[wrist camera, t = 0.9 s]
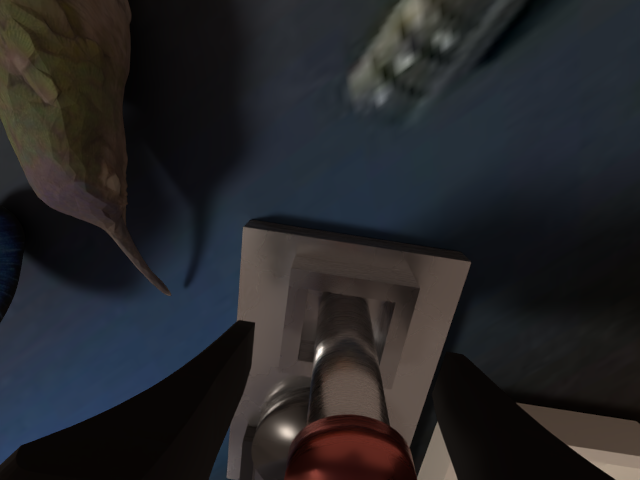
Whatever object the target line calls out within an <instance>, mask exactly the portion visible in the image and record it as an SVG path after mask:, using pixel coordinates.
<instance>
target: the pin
mask: <svg viewBox="0 0 640 480" xmlns="http://www.w3.org/2000/svg"><path fill="white" fill-rule="evenodd" d="M284 480H417V476H416V472H415V467H414V463H413V459H412V454H411V451H410V448H409V446H408V444H407V442H406V441H405V439H404V438H403V437H402V436H401V435H400V434H399V433H398V432H397V431H396V430H395V429H393V428H392V427H391V426H390V422H389V417H388V411H387V406H386V400H385V395H384V389H383V384H382V378H381V373H380V367H379V362H378V356H377V351H376V345H375V339H374V334H373V328H372V323H371V317H370V312H369V307H368V305H367V303H366V301H365V300H364V299H363V298H362V297H356V296H349V295H343V294H336V293H331V294H330V295H328V296H327V297H325V298H324V299H323V301H322V302H321V304H320V306H319V310H318V319H317V329H316V339H315V348H314V358H313V368H312V377H311V387H310V397H309V407H308V416H307V426H306V427H305V428H303V429H302V430H301V431H300V432H299V433H298V434H297V435H296V436H295V438H294V439H293V441H292V443H291V445H290V447H289V451H288V458H287V464H286V471H285V477H284Z"/></svg>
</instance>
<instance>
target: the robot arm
mask: <svg viewBox="0 0 640 480" xmlns="http://www.w3.org/2000/svg"><path fill="white" fill-rule="evenodd" d="M254 332H255V322H250V321H243V320H238V321H237V322H236V323H235V324H233V325H232V326H231V327H230V328H229V329H228V330H227V331H226V332H225V333H224V334H222V335H221V336H220V337H219V338H218V339H217V340H216V341H214V342H213V343H212V344H211V345H210V346H208V347H207V348H206V349H205V350H204V351H202V352H201V353H200V354H199V355H197V356H196V357H195V358H193V359H192V360H191V361H189V362H188V363H187V364H185V365H184V366H183V367H181V368H180V369H178V370H177V371H176V372H174V373H173V374H171V375H170V376H168V377H167V378H165V379H164V380H162V381H160V382H159V383H157V384H156V385H154V386H152V387H151V388H149V389H147V390H145V391H143V392H142V393H140V394H138V395H136V396H134V397H132V398H131V399H129V400H127V401H125V402H123V403H121V404H119V405H117V406H115V407H113V408H111V409H109V410H107V411H105V412H103V413H101V414H98V415H96V416H94V417H92V418H89V419H87V420H85V421H83V422H80V423H78V424H76V425H73V426H71V427H68V428H66V429H63V430H61V431H58V432H55V433H53V434H50V435H48V436H45V437H43V438H40V439H37V440H35V441H32V442H29V443H27V444H24V445H21V446H20V447H19V448H18V449H17V450H16V451H15V452H14V453H13V454H12V455H10V456H9V457H8V458H7V459H6V460H5V461H4V462H3V463H2V464H1V465H0V480H209V477H210V473H211V470H212V467H213V465H214V462H215V460H216V457H217V454H218V452H219V450H220V447H221V445H222V443H223V440H224V438H225V436H226V433H227V431H228V428H229V426H230V424H231V421H232V419H233V417H234V414H235V412H236V410H237V407H238V405H239V403H240V400H241V398H242V395H243V393H244V390H245V387H246V383H247V380H248V377H249V373H250V370H251V366H252V355H253V344H254ZM432 397H433V402H434V408H435V412H436V417H437V421H438V424H439V427H440V430H441V433H442V436H443V439H444V442H445V445H446V448H447V451H448V454H449V456H450V459H451V462H452V465H453V468H454V471H455V473H456V476H457V479H458V480H616V479H614V478H613V477H611V476H610V475H608V474H607V473H605V472H604V471H602V470H601V469H599V468H598V467H596V466H595V465H594V464H592V463H591V462H589V461H588V460H587V459H585V458H584V457H582V456H581V455H580V454H578V453H577V452H576V451H574V450H573V449H572V448H570V447H569V446H568V445H566V444H565V443H564V442H562V441H561V440H560V439H558V438H557V437H556V436H554V435H553V434H552V433H551V432H549V431H548V430H547V429H546V428H545V427H543V426H542V425H541V424H540V423H539V422H537V421H536V420H535V419H534V418H533V417H531V416H530V415H529V414H528V413H527V412H526V411H524V410H523V409H522V408H521V407H520V406H519V405H518V404H516V403H515V402H514V401H513V400H512V399H511V398H510V397H509V396H508V395H507V394H505V393H504V392H503V391H502V390H501V389H500V388H499V387H498V386H497V385H496V384H495V383H494V382H493V381H491V380H490V379H489V378H488V377H487V376H486V375H485V374H484V373H483V372H482V371H481V370H480V369H479V368H478V367H476V366H475V365H474V364H473V363H472V362H471V361H470V360H469V359H468V358H466V357H465V356H464V355H463V354H457V353H450V352H446V354H445V357H444V360H443V363H442V366H441V369H440V372H439V375H438V378H437V381H436V384H435V386H434V389H433V392H432Z"/></svg>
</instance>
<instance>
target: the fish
mask: <svg viewBox="0 0 640 480" xmlns="http://www.w3.org/2000/svg"><path fill="white" fill-rule="evenodd" d="M24 244H25V234H24V231H23V227H22V225H21V224H20V222H19V221H18V219H17V218H16V217H15V215H14V214H13V213H11V212H10V211H9V210H7V209H6V208H5V207H2V206H0V322H1V321H2V319H3V317H4V316H5V314H6V312H7V310H8V308H9V306H10V304H11V302H12V300H13V297H14V295H15V292H16V288H17V285H18V281H19V276H20V271H21V265H22V259H23V253H24Z"/></svg>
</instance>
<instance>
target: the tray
mask: <svg viewBox="0 0 640 480" xmlns="http://www.w3.org/2000/svg"><path fill="white" fill-rule="evenodd" d="M516 404H518V405H519V406H520V407H521V408H522V409H523V410H524V411H526V412H527V413H528V414H529V415H530V416H531V417H533V418H534V419H535V420H536V421H537V422H539V423H540V424H541V425H542V426H543V427H545V428H546V429H547V430H548V431H549V432H551V433H552V434H553V435H554V436H556V437H557V438H558V439H560V440H561V441H562V442H564V443H565V444H566V445H568V446H569V447H570V448H572V449H573V450H574V451H576V452H577V453H578V454H580V455H581V456H582V457H584V458H585V459H587V460H588V461H589V462H591V463H592V464H594V465H595V466H596V467H598V468H599V469H601V470H602V471H604V472H605V473H607V474H608V475H610V476H611V477H613V478H614V479H616V480H640V424H639V423H638V422H637V421H632V420H625V419H619V418H612V417H606V416H599V415H593V414H586V413H580V412H573V411H567V410H560V409H554V408H547V407H541V406H534V405H528V404H521V403H516ZM417 480H458V479H457V476H456V473H455V471H454V468H453V465H452V462H451V459H450V456H449V454H448V451H447V448H446V445H445V442H444V439H443V436H442V433H441V430H440V427H439V424H438V422H437V424H436V427H435V430H434V433H433V435H432V438H431V441H430V444H429V446H428V449H427V452H426V455H425V457H424V460H423V463H422V466H421V468H420V471H419V474H418V477H417Z"/></svg>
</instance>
